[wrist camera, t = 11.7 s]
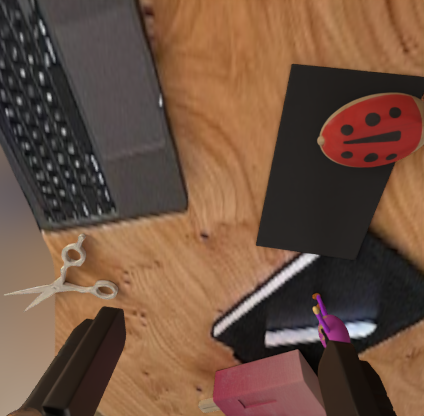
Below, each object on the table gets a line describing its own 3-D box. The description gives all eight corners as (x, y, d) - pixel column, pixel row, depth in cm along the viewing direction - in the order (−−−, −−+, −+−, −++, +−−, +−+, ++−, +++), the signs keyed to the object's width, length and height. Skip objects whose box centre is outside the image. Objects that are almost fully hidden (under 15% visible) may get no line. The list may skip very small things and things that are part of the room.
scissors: (127, 292, 39) (34, 327, 45) (129, 288, 40) (37, 324, 46) (81, 235, 36) (-14, 281, 42) (84, 232, 36) (-10, 278, 42)
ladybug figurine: (422, 153, 27) (446, 163, 23) (317, 172, 29) (326, 184, 26) (428, 80, 24) (455, 80, 21) (311, 107, 26) (320, 112, 23)
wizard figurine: (293, 272, 35) (312, 358, 24) (317, 263, 34) (348, 349, 23) (326, 329, 39) (355, 426, 28) (348, 322, 38) (388, 421, 27)
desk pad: (291, 63, 25) (292, 63, 25) (428, 77, 24) (430, 77, 24) (256, 244, 34) (256, 245, 34) (354, 258, 33) (355, 260, 33)
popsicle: (184, 407, 43) (303, 379, 37) (190, 377, 48) (297, 347, 41) (214, 437, 46) (329, 417, 40) (217, 406, 50) (322, 383, 44)
